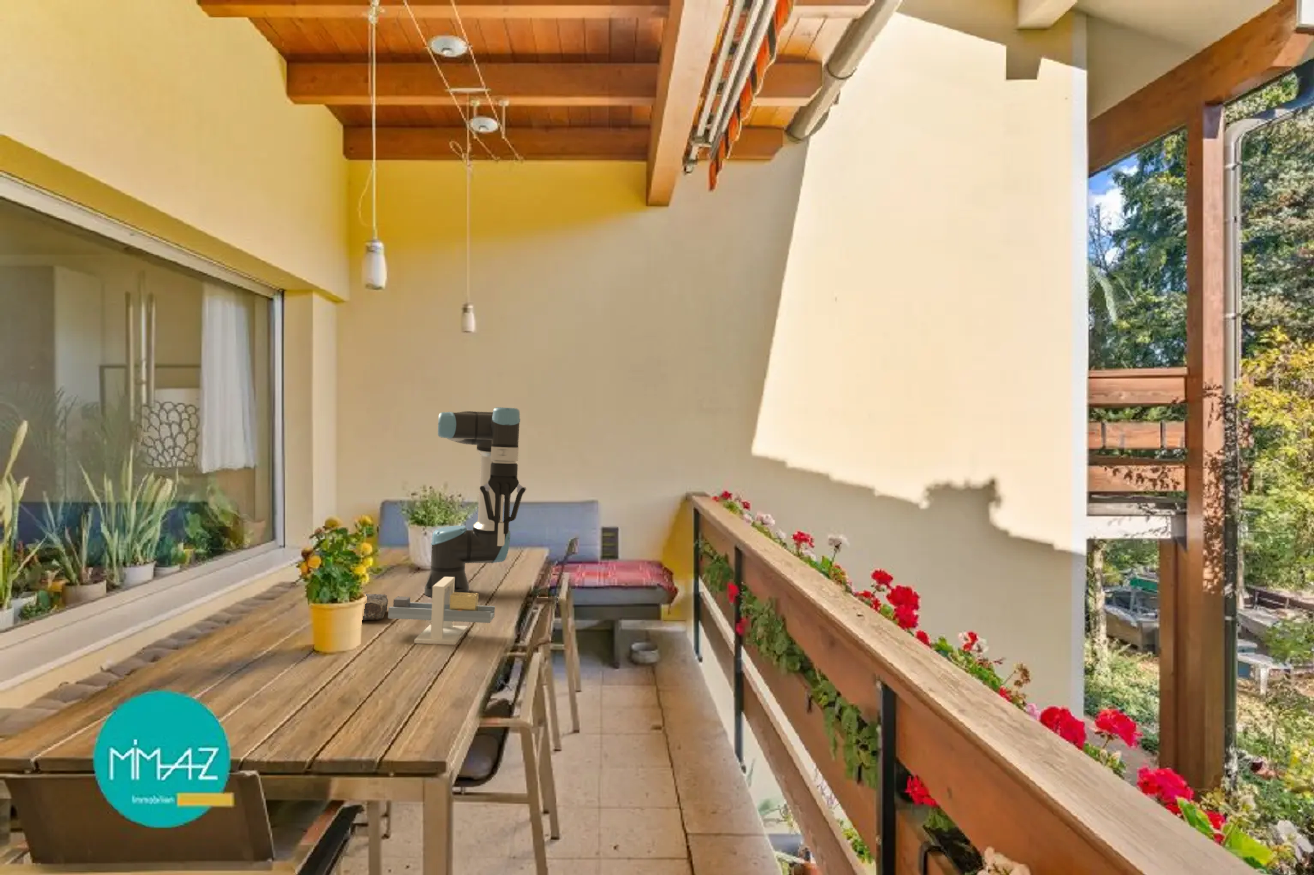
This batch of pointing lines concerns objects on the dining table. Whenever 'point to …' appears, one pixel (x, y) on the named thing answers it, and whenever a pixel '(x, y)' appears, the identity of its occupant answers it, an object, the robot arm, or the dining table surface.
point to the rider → (464, 601)
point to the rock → (375, 606)
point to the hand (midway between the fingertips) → (500, 545)
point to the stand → (441, 618)
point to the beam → (424, 611)
